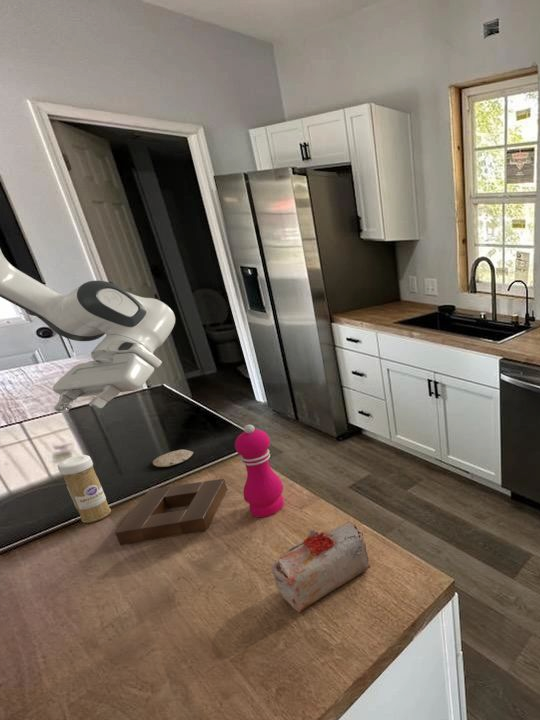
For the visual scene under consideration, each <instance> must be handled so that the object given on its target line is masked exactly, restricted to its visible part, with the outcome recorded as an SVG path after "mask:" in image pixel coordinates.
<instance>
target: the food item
mask: <svg viewBox="0 0 540 720" xmlns="http://www.w3.org/2000/svg"><path fill="white" fill-rule="evenodd" d="M270 569H271V573H272V574H273V578H274V582H275V585H276V587H277V589H278V591H279V593H280V595H281V596H282V597H283V599H284V600H285V601H286V602H287V603H288V604H289V605H290V606H291V607H292V608H293V609H294V610H296V611H297V612H298V613H300V612H302V611H304V610H305V609H307V608H308V607H309V606H311V605H313V604H315V602H317V601H318V600H320V599H321V598H323V597H324V596H327V595H328V594H330V593H331V592H333V591H334V590H336V589H337V588H339V587H341V586H343V585H344V584H346V583H348V582H349V581H351V580H353V579H354V578H355V577H358V576H359V575H361V574H362V573H363V572H365V571H368V569H371V564H370V563H369V555H368V551H367V546H366V543H365V540H364V533H363V532H361V531H360V530H359V529H358V527H357V526H356V525H355V524H354V523H353V522H351V521H347V522H345V523H344V524H342V525H339V526H337V527H334V528H333V529H331V530H329V531H326V532H325V531H321V532H320V533H319V532H317V531H315V530H314V529H311V530H310V531H309V535H307V537H306V538H305V539H304V540H303V541H302V542H299V543H297V544H296V545H295V544H294V546H292V547H290V548H289V549H288V550H287V551H286V552H285V553H284V554H282V555H281V556H279V557H278V558H277V562H276V561H275V562H274V563H273V565H272V566H271V567H270Z"/></svg>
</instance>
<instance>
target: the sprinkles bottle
mask: <svg viewBox="0 0 540 720" xmlns="http://www.w3.org/2000/svg"><path fill="white" fill-rule="evenodd" d="M57 469H58V471H59V474H60V475H61V476H62V477H63V480H64V482H65V484H66V488H67V490H68V493H69V495H70V498H71V501H73V504H74V506H75V508H76V510H77V512H78V513H79V516H80V522H83V524H89V523H94V522H95V523H96V522H98V521H101V520H103V519H104V518H106V517H108V516H109V515H110V514H111V512H112V509H111V508H110V506H109V505H110V504H109V503H108V501H107V497H106V494H105V492H104V489H103V487H102V484H101V482H100V480H99V478H98V476H97V474H96V471H95V469H94V462H93V460H92V458H91V456H89V455H87V454H80V455H75V456H71V457H68V458H65V459H63V460H61V461H60V462H59V463H57Z"/></svg>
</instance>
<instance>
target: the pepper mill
mask: <svg viewBox="0 0 540 720" xmlns="http://www.w3.org/2000/svg"><path fill="white" fill-rule="evenodd" d="M255 428H256V427H255V426H254V425H253V424H246V425H245V426H244V428H243V431H244V432H242V433H240V434H239V435H238V436H237V437H236V439H235V442H234V448H235V451H236V452H237V454H238V455H240V460H241V463H242V465H244V466H245V469H246V473H247V476H246V479H245V480H246V481H245V483H244V487H243V491H242V492H243V499H244V501H245V502H246V503H247V504H248V507H249V511H250V514H251V516H253V517H255V518H256V517H257V518H265V517H269V516H272V515H274V514H276V513H278V512H279V511H280V510H282V508H283V507H284V505H285V501H284V497H283V495H282V494H283V492H284V486H283V482H282V479H281V478H280V477H279V476H278V475H277V474H276V473H275V472H274V470H273V469H272V467H271V466H270V465H271V464H270V461H269V459H270V458H271V453H270V449H269V447H270V445H271V439H270V437H269V435H268V434H267V433H266V431H263V430H260V429H255Z"/></svg>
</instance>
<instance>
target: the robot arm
mask: <svg viewBox="0 0 540 720" xmlns="http://www.w3.org/2000/svg"><path fill="white" fill-rule="evenodd" d="M0 298H2V299H3V300H6V302H7V301H8V302H9V303H11V304H13V305H15V306H17V307H19V308H20V309H22V310H25V311H26V312H28V313H30V314H32V315H33V316H35V317H36V318H38V319H39V320H40V321H42V322H43V323H44V324H45V325H46V326H47V327H49V328H50V329H51V330H52V331H53V332H54V333H56V334H58V335H59V336H61V337H63V338H66V339H67V340H71V341H75V342H93V341H96V340H99V339H100V338H102V337H103V336H104V335H106V336H105V337H104V338H103V339H102V340H101V341H100V342H99V343H98V344H97V345H96V347H94V349H92V351H91V353H90V356H91V358H92V360H90V361H87V362H82V363H78V364H76V365H74V366H73V367H72V368H71V369H69V370H68V371H67V372H66V373H64V375H62V376H61V378H59V379H58V380H57V381H56V382H55V383H54V385H53V386H52V392H54V393H55V394H58V395H59V398H58V402H57V403H56V404H55V406H53V410H55V411H56V412H58V413H68V412H69V411H70V410H71V409H72V408H73V405H72V404H73V402H74V401H76V400H77V399H78V398H86V397H92V396H95V397H93V398H92V399H90V401H89V402H88V406H89V407H91V408H93V409H96V410H97V409H98V410H99V409H103V408H104V407H105V406H106V404H108V402H110V401H111V400H113V399H114V398H116V397H117V396H118V395H119V394H120V393H126V392H134V391H136V390H138V389H140V388H141V387H143V385H144V384H145V383H146V382H147V380H148V379H149V378H150V377H151V376H152V375H153V373H154V372H155V369H158V368H159V367H160V366H161V365H162V363H163V361H162V360H161V359H160V358H159V357H157V356H156V355H155V354H154V353H155V352H156V350H157V349H158V348H160V347H161V346H162V345H163V344H164V343H165V341H166V340H167V339H168V337H169V336H170V334H171V333H172V331H173V329H174V327H175V325H176V316H175V313H174V311H173V309H171V307H169V305H168V304H166V303H165V302H163V301H161V300H159V299H157V298H153V297H144V296H140V295H136V294H134V293H131V292H128V291H126V290H125V289H124V288H122V287H120V286H119V285H118V284H115V283H112V282H109V281H105V280H91V281H86V282H83V283H82V284H81V285H79V286H78V287H76V288H75V289H73V290H72V291H71V292H70V293H68V294H64V293H61V292H58V291H55V290H54V289H52V288H50V287H48V286H47V285H45V284H44V283H42V282H40V281H39V280H37V279H34V278H33V277H31V276H29V275H28V274H27V273H25V272H23V271H21V270H19V269H18V268H17V267H15V266H13V264H11V262H9V261H8V260H7V258H6V257H5V255H4V254H3V252H2V249H1V248H0Z"/></svg>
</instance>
